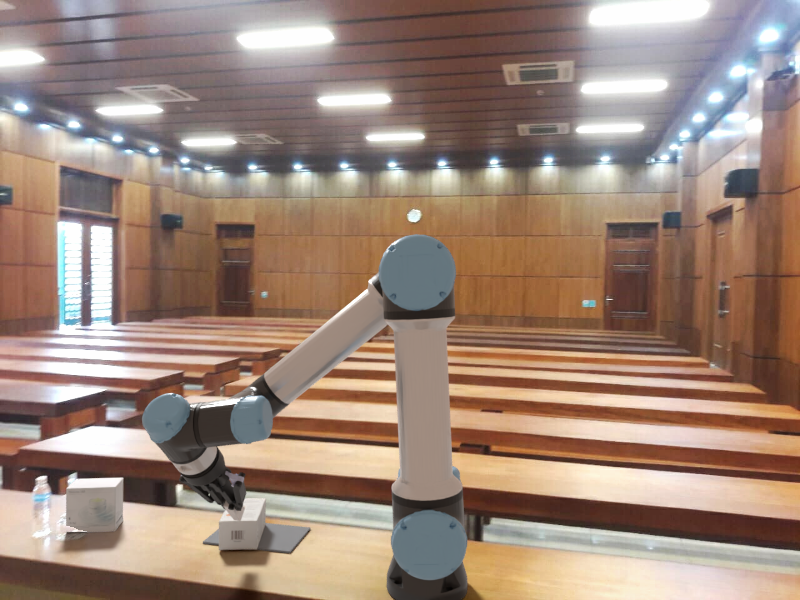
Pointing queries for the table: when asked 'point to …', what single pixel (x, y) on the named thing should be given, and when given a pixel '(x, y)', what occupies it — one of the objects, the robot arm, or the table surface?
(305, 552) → the table surface
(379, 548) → the table surface
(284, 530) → the mat
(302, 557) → the table surface
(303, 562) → the table surface
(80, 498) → the skincare box
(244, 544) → the small box
